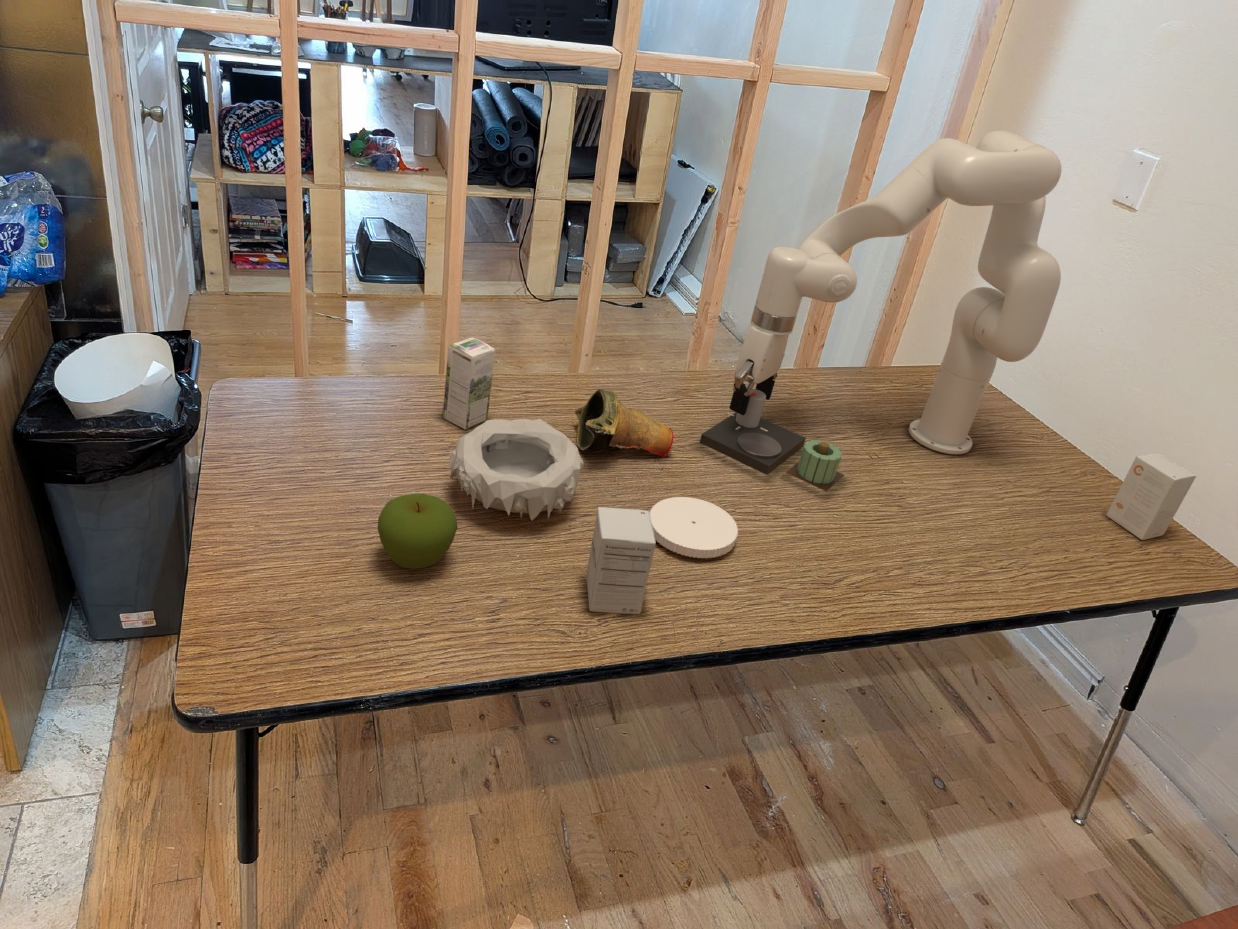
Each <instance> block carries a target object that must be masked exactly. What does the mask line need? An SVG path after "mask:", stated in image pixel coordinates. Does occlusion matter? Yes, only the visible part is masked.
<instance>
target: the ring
mask: <svg viewBox="0 0 1238 929" xmlns="http://www.w3.org/2000/svg"><path fill="white" fill-rule="evenodd" d="M820 442H826V441H824V440H819V439H811V440H807V441H805V442H804V446H803V447H802V451H801V454H800V457H799V461H798V462H799V464H798V467H797V471H798V472H799V474H800V475H801V476H802V477H805V478H804V479H806V480H808V481H811V482H812V481H813V482H814V483H819V484H821V483H822V484H827V483H831V482H832V481H833V480H834V478H835V475H836V472H838V468H839V466H840V462H841V459H842V457H843V454H842V451H841V449H840V448H839V447H837V446H835V444H832V443H830V442H828V441H827V442H826V443H828V444H829V445H830V447H829V450H828V453H827V456H826V455H821V454H819V453H817V450H818V447H819V444H820Z"/></svg>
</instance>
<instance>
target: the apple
mask: <svg viewBox="0 0 1238 929" xmlns="http://www.w3.org/2000/svg"><path fill="white" fill-rule="evenodd" d="M457 519H458V518H457V516H456V514H455V510H454V509H453V508H452V506H450V505H449V503H448V502H447V501H444V500H443V499H442V498H440V497H438V496H435V495H432V494H426V493H410V494H405V495H401V496H397V497H395V498H393V499H391V500H388V501H387V502H386V504H385V505H384V506H383V508H382V510H381V511H380V514H379V516H378V519H377V531H378V536H379V541H380V543H381V545H382V546H383V548H384V549H385V552H386V553H387V556H389V558H390V560H391V561H392V562H393V563H394V564H396V565H398V566H399V567H401V568H405V569H412V570H413V569H423V568H428V567H431V566H434V565H435V564H437V563H438V562H440V561H441V559H442V558H443V557H444V556H445V554H446V553H447V552H448V551H449V549H450V548H451V546H452V544H453V542H454V539H455V536H456V534H457V530H458V520H457Z"/></svg>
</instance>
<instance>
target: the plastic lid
mask: <svg viewBox="0 0 1238 929" xmlns="http://www.w3.org/2000/svg"><path fill="white" fill-rule="evenodd" d="M649 513H650V518H651V523H652V527H653V532H654V537H655V541H656V542H657V543H659V545H661V546H662V547H664V548H665V549H667V550H669V551H671V552H673V553H676V554H680V555H681V556H684V557H689V558H697V559H700V558H701V559H711V558H718V557H722V556H724V555H725V554H727V553H729V552H730V551H732V549H733V548H734V547H735V545H736V543H737V539H738V536H739V527H738V524H737V522H736V520H735V519H734V518H733V517H732V515H731V514H729V512H727V511H726V510H724V508H721V507H720V506H718V505H716V504H714V503H712V502H710V501H707V500H704V499H700V498H696V497H692V496H691V497H688V496H672V497H668V498H663V499H661V500H659V501H657V502H656V503H655V504H653V506H652V507H651V508H650V510H649Z"/></svg>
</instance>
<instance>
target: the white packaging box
mask: <svg viewBox="0 0 1238 929" xmlns="http://www.w3.org/2000/svg"><path fill="white" fill-rule="evenodd" d="M649 512H650V510H646V509H645V510H644V509H632V508H621V507H620V508H619V507H605V506H603V507H602V506H598V507H597V512H596V517H595V523H594V529H593V535H592V540H591V545H590V550H589V557H588V562H587V568H586V574H585V581H586V587H587V589H586V590H587V599H588V600H587V601H588V611H589V612H595V613H607V614H609V613H611V614H623V615H640V614H641V613H642V609H643V608H642V607H643V602H644V600H645V594H646V588H647V584H648V581H649V576H650V571H651V567H652V562H653V559H654V553H655V549H656V548H655V547H656V542H657V540H655V537H654V532H653V527H652V523H651V518H650V513H649Z"/></svg>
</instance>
